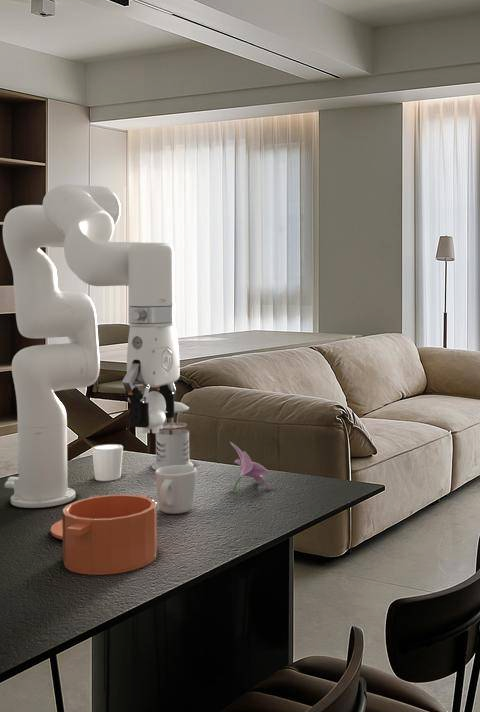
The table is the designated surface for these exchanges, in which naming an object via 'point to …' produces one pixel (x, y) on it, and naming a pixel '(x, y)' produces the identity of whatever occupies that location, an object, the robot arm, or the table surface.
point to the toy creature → (155, 412)
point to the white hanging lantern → (173, 442)
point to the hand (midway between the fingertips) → (152, 421)
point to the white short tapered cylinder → (107, 461)
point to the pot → (109, 534)
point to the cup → (176, 488)
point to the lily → (250, 467)
